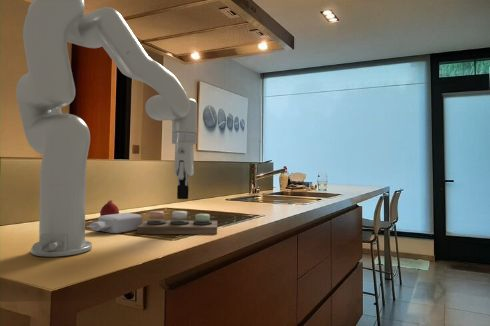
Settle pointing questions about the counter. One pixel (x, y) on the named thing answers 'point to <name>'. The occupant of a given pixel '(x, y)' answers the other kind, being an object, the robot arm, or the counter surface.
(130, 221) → the white bottle
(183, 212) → the grey button
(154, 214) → the terracotta button
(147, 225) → the button board
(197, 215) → the sage button
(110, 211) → the onion
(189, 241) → the counter surface
